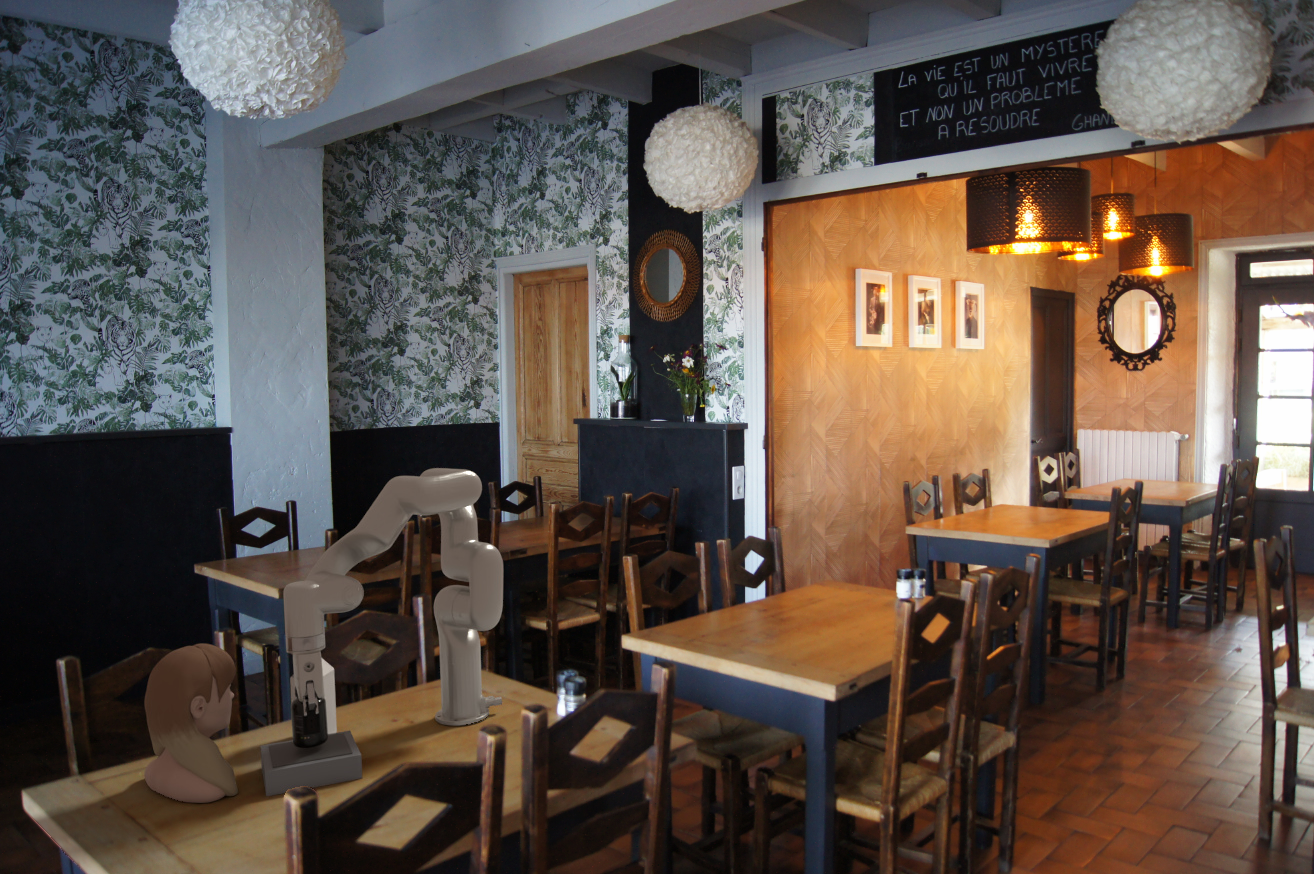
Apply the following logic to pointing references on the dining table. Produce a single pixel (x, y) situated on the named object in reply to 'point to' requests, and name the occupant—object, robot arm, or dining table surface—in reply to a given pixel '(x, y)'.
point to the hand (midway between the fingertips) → (309, 727)
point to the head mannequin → (190, 724)
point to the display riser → (310, 763)
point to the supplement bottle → (297, 724)
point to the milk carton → (329, 695)
